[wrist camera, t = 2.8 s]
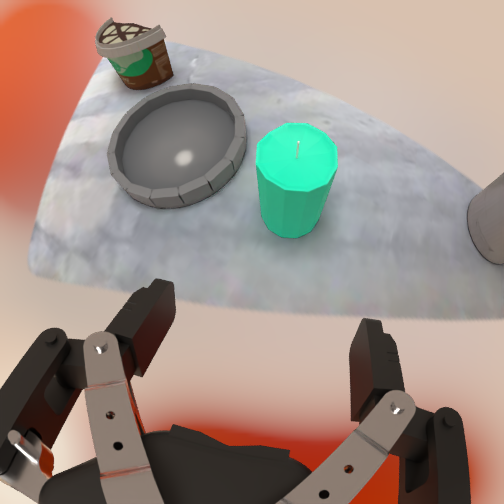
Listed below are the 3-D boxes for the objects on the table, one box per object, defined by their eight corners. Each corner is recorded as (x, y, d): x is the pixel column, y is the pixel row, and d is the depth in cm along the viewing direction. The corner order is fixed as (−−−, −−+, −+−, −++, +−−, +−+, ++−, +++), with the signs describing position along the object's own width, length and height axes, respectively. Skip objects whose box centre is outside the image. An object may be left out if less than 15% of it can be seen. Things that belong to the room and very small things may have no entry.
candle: (311, 180, 32) (326, 105, 20) (326, 232, 30) (354, 173, 18) (255, 190, 32) (246, 116, 20) (267, 244, 30) (263, 188, 19)
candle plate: (218, 83, 36) (215, 68, 34) (269, 171, 32) (269, 157, 30) (109, 131, 36) (100, 119, 33) (133, 232, 31) (122, 223, 29)
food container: (103, 84, 39) (77, 42, 29) (130, 60, 40) (109, 17, 30) (150, 105, 36) (124, 53, 27) (180, 78, 37) (162, 25, 28)
